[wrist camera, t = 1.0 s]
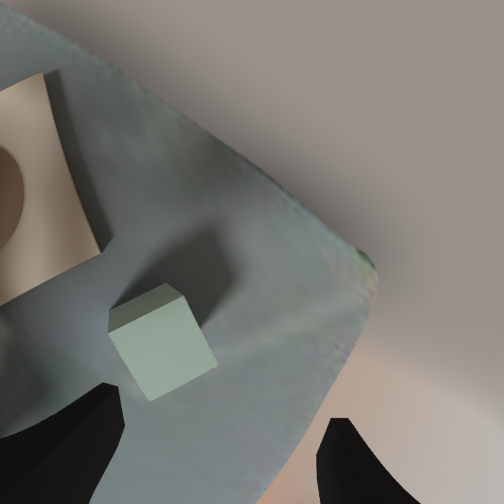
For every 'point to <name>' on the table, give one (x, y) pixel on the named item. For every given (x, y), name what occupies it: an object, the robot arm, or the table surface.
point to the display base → (36, 195)
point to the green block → (160, 341)
